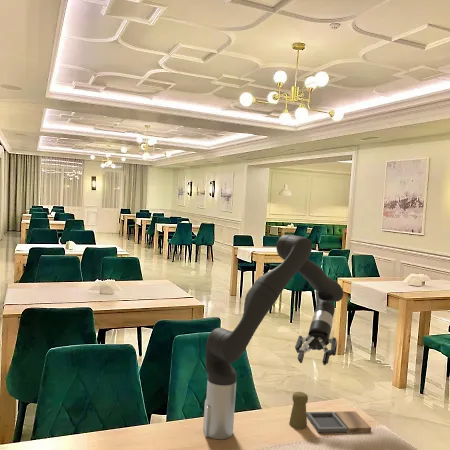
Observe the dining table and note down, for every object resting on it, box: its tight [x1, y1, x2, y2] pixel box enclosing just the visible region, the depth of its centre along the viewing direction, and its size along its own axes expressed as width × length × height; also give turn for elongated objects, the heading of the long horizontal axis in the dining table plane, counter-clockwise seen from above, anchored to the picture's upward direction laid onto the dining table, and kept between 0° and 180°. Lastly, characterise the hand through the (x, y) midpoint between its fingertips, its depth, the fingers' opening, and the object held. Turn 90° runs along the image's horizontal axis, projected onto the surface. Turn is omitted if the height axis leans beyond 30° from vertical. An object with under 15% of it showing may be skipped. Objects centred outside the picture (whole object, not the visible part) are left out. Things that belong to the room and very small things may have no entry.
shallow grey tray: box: [306, 411, 348, 434], centre depth 163 cm, size 10×12×2 cm
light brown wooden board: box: [333, 411, 372, 434], centre depth 165 cm, size 8×12×2 cm, turn 10°
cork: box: [288, 391, 309, 430], centre depth 161 cm, size 6×6×11 cm
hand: (312, 362), depth 165 cm, fingers open, 8 cm apart
